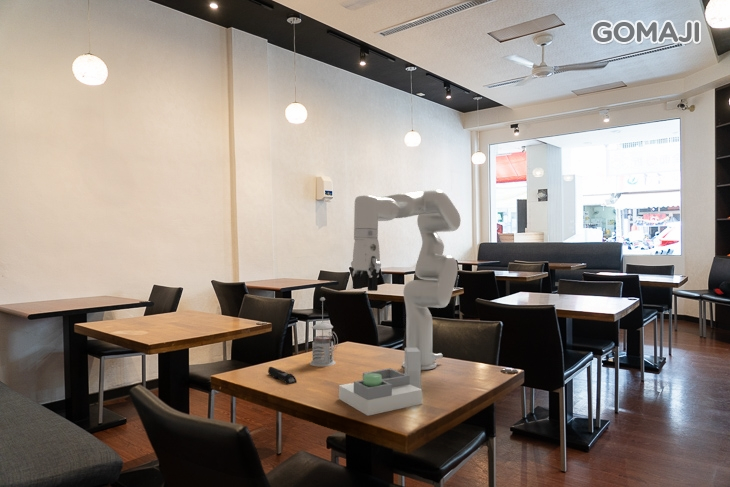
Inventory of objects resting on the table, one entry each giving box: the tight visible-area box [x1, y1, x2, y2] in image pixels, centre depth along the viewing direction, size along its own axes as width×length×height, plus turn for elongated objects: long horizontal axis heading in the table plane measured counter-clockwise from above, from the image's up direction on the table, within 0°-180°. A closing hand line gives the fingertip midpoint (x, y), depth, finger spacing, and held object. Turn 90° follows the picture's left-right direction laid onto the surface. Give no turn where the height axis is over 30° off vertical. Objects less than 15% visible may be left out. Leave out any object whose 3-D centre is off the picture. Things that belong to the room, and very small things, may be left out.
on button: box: [362, 373, 382, 387], centre depth 133 cm, size 5×5×3 cm
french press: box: [309, 296, 339, 367], centre depth 183 cm, size 10×12×25 cm
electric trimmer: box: [267, 366, 297, 385], centre depth 163 cm, size 4×16×3 cm, turn 38°
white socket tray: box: [338, 367, 423, 416], centre depth 139 cm, size 18×16×7 cm
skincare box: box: [404, 347, 422, 389], centre depth 152 cm, size 6×4×12 cm
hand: (364, 289), depth 152 cm, fingers open, 9 cm apart
